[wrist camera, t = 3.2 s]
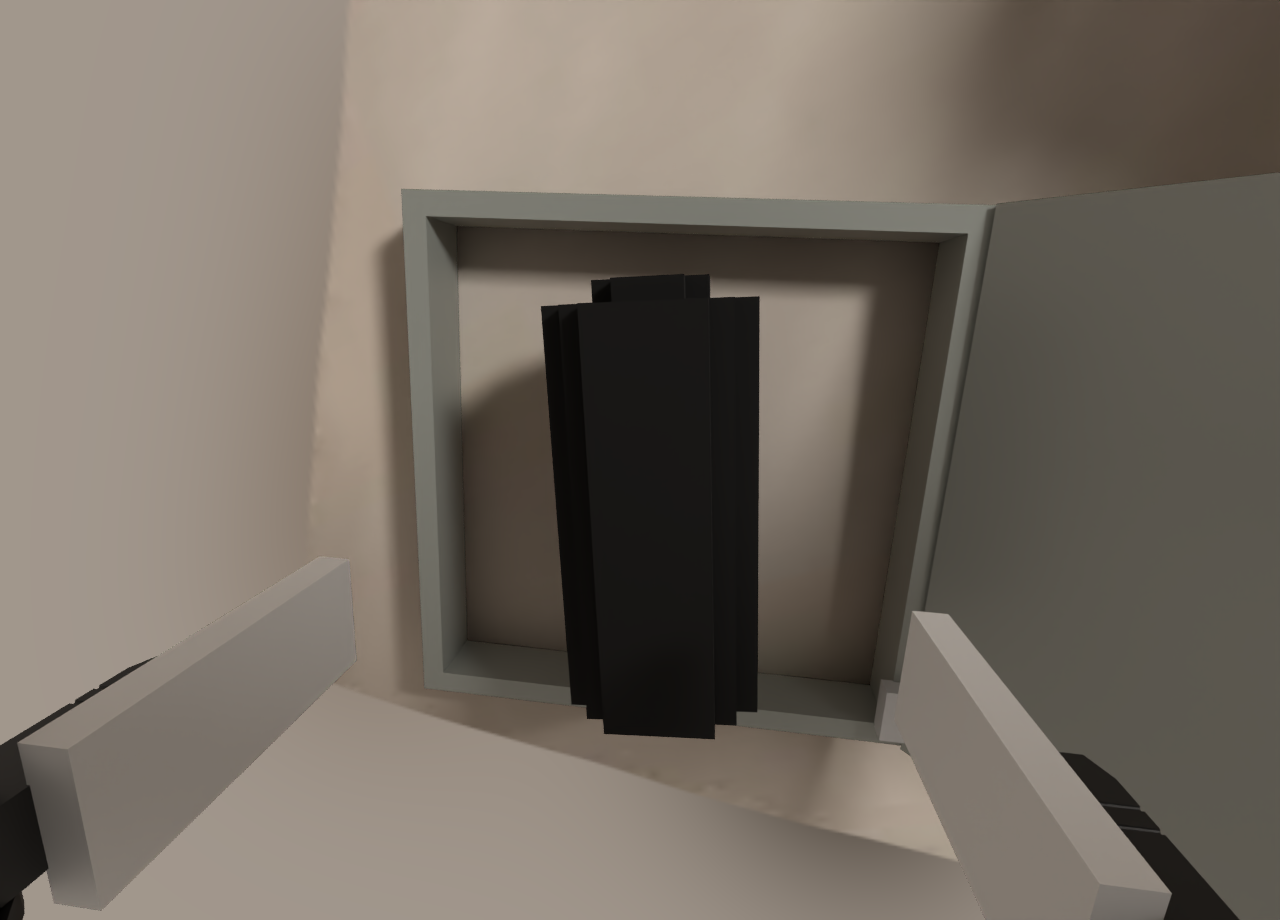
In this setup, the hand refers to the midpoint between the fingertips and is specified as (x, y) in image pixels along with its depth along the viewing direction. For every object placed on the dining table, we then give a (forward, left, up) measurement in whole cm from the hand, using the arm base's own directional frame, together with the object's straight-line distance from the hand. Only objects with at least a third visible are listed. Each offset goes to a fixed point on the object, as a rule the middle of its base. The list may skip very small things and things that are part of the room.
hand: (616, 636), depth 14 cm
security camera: (+1, 0, -16) cm, 16 cm away
